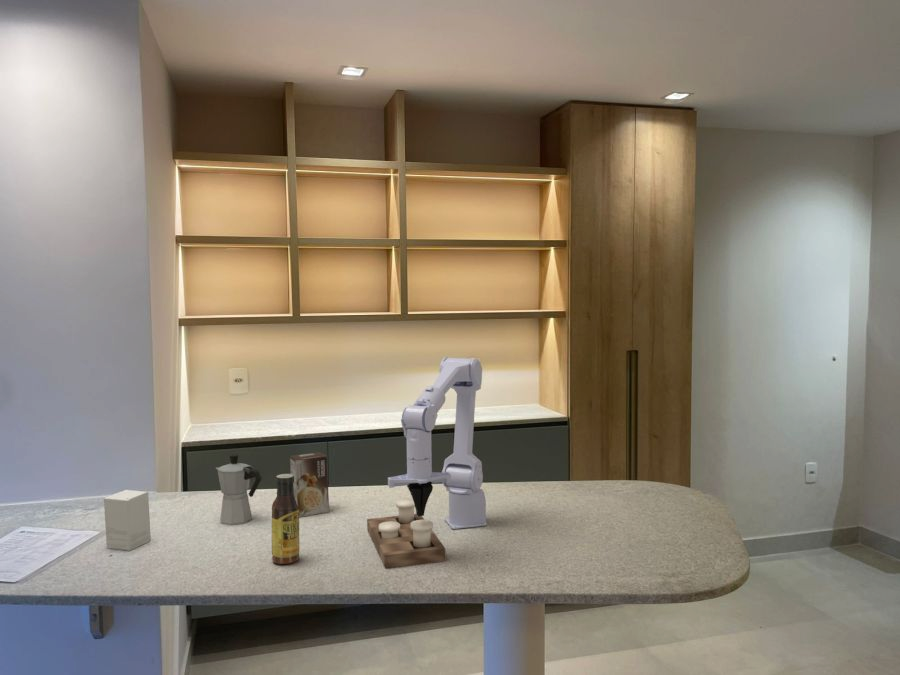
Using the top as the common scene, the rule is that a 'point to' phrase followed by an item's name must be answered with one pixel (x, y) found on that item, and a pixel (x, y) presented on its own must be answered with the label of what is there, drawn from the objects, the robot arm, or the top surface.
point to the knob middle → (389, 529)
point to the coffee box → (310, 483)
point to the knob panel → (403, 545)
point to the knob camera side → (421, 533)
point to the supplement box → (127, 520)
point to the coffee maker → (236, 491)
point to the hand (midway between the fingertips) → (420, 514)
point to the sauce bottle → (285, 522)
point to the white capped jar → (405, 510)
